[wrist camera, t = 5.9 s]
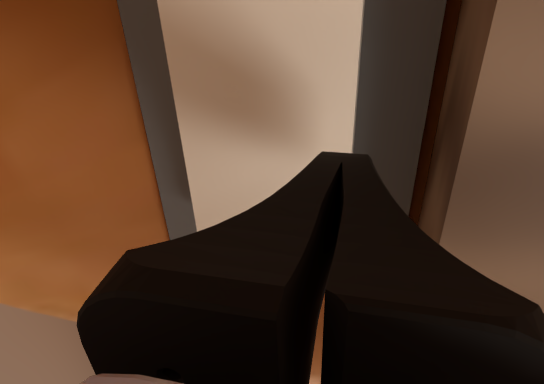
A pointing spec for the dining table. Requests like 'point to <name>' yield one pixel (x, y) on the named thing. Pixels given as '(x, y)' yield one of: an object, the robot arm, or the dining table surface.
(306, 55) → the beige flat block
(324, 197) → the robot arm
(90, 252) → the dining table surface
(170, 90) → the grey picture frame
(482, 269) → the deck
